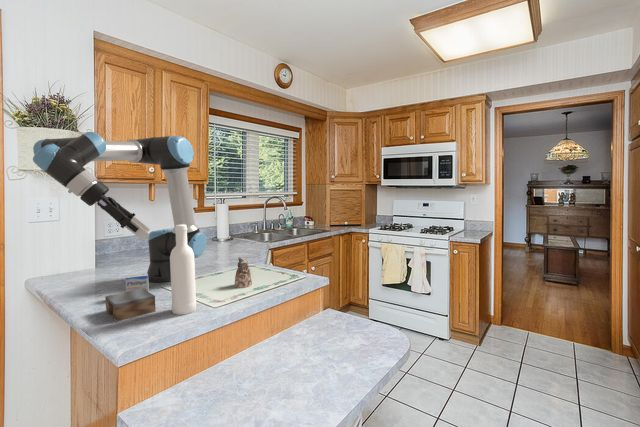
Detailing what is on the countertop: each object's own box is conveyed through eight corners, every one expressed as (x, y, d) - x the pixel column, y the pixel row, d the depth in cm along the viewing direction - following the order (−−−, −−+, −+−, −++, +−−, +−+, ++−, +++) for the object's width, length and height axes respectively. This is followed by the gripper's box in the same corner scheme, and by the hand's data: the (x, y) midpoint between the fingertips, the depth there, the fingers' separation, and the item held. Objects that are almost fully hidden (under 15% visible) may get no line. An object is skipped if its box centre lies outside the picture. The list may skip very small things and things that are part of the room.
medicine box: (126, 300, 129) (124, 278, 129) (126, 297, 133) (125, 275, 132) (149, 297, 133) (148, 275, 132) (149, 293, 137) (147, 272, 136)
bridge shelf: (143, 303, 126) (142, 288, 126) (155, 311, 118) (154, 295, 117) (106, 311, 118) (105, 296, 117) (116, 321, 109) (115, 304, 109)
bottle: (178, 316, 113) (175, 227, 110) (167, 311, 118) (163, 225, 115) (201, 310, 119) (197, 224, 116) (189, 305, 124) (186, 223, 121)
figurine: (239, 288, 143) (239, 260, 142) (231, 285, 148) (231, 258, 147) (254, 285, 147) (254, 258, 146) (246, 282, 153) (245, 255, 152)
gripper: (86, 196, 113) (139, 238, 121) (69, 199, 91) (136, 249, 99) (104, 180, 115) (155, 222, 123) (92, 179, 93) (155, 230, 100)
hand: (147, 234), depth 111 cm, fingers open, 13 cm apart
